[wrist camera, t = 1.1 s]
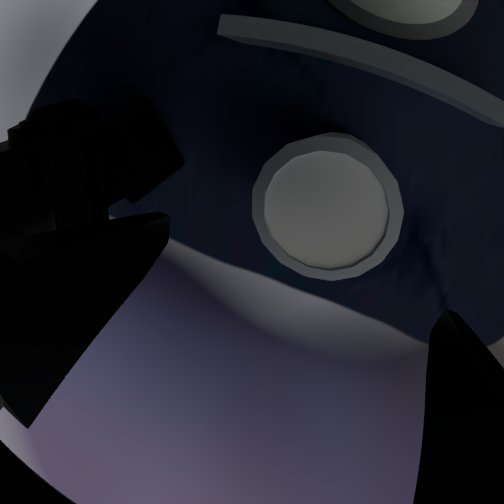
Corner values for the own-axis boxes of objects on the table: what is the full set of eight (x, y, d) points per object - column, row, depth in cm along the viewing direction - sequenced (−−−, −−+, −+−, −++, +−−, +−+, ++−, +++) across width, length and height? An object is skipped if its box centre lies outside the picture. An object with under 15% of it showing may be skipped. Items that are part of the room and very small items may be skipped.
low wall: (490, 105, 13) (517, 110, 10) (485, 122, 14) (512, 130, 11) (246, 26, 16) (221, 14, 13) (242, 43, 17) (216, 34, 13)
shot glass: (385, 119, 17) (401, 131, 11) (391, 224, 19) (401, 282, 14) (276, 127, 19) (237, 144, 13) (291, 226, 22) (263, 281, 16)
